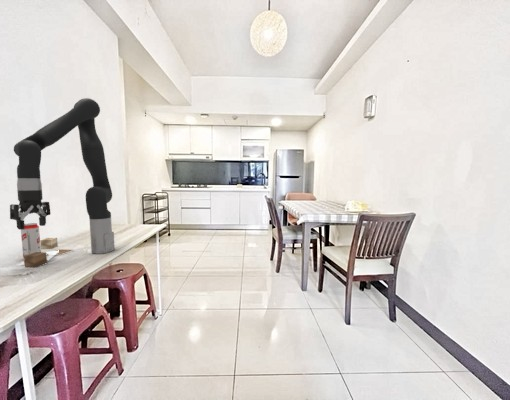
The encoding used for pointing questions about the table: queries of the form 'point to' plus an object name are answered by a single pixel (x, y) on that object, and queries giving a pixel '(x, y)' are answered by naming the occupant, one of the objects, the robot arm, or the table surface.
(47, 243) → the maple cube
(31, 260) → the walnut cube
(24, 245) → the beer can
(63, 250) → the tile
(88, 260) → the table surface
